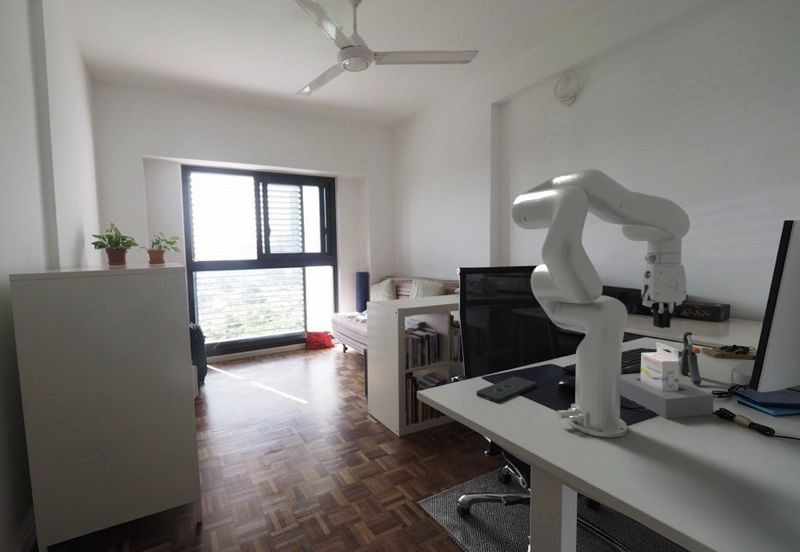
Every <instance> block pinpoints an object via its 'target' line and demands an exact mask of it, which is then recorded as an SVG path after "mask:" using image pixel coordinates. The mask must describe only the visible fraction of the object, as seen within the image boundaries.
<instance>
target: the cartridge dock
mask: <svg viewBox="0 0 800 552" xmlns="http://www.w3.org/2000/svg"><path fill="white" fill-rule="evenodd" d="M640 380H641V372H640V373H639V372H638V373H627V374H621V389H620V395H621V396H620V397H622V396H623V397H622V398H624V397H625V398H624V399H626V398H627V399H626V400H628V399H629V400H628V401H630V400H631V402H632V401H634V402H636V403H637V404H636V403H635V404H636V405H638V404H639V405H638V406H640V405H641V406H640V407H642V406H644V407H645V408H644V407H643V408H644V409H646V408H647V409H646V410H648V409H649V410H651V411H653V412H655V413H656V415H657V414H658V415H657V416H660V417H661V418H663V419H674V418H684V417H685V418H686V417H694V416H702V415H703V416H705V415H712V413H713V414H714V396H715V395H714V394H712V393H711V392H708V391H705V390H702V389H700V388H697V387H695V386H692V385H689V384H687V383H685V382H681V381H679V384H678V391H675V392H664V391H662V390H659V389H657V388H655V387H652V386H650V385H648V384H645V383H643V382H641V381H640ZM634 402H633V403H634ZM649 410H648V411H649ZM651 411H650V412H651ZM653 412H652V413H653ZM655 413H654V414H655Z"/></svg>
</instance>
